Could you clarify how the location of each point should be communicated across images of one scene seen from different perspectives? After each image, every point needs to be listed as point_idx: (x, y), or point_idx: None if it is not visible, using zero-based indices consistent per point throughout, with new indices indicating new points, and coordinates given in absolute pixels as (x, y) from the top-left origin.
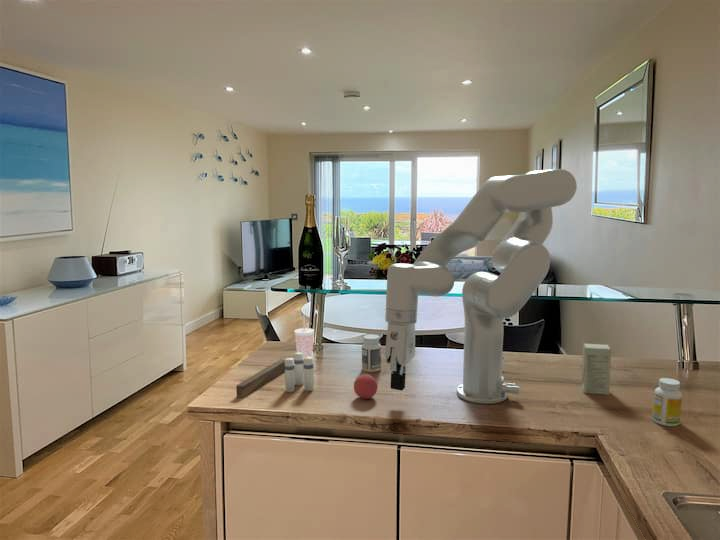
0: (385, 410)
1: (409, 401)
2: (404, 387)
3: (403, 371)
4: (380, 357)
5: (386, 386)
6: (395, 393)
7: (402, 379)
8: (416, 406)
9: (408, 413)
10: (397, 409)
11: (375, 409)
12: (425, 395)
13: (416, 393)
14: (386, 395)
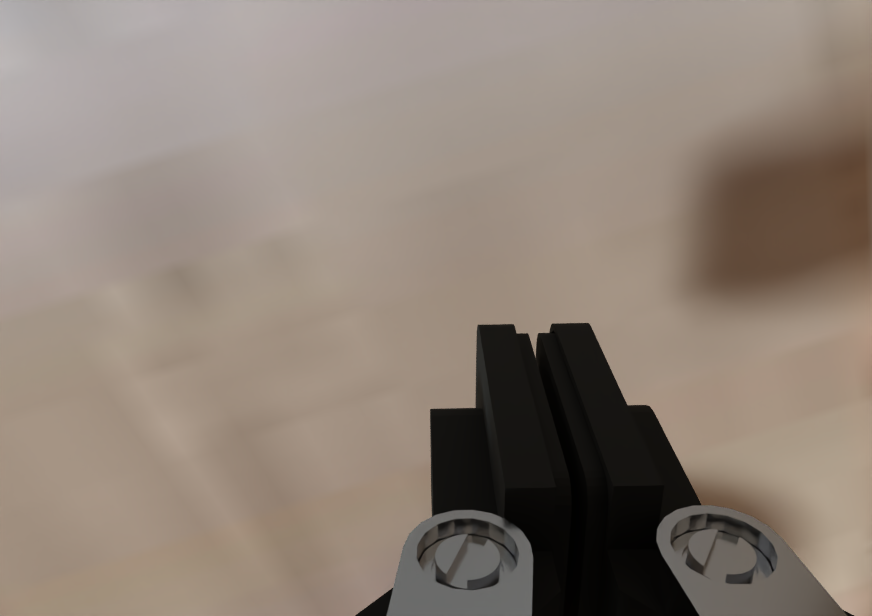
0: (718, 357)
1: (365, 187)
2: (507, 327)
3: (519, 552)
4: None
5: (56, 552)
6: (200, 412)
7: (630, 438)
8: (493, 47)
9: (748, 85)
10: (658, 248)
11: (715, 451)
12: (46, 33)
13: (51, 180)
14: (307, 475)
